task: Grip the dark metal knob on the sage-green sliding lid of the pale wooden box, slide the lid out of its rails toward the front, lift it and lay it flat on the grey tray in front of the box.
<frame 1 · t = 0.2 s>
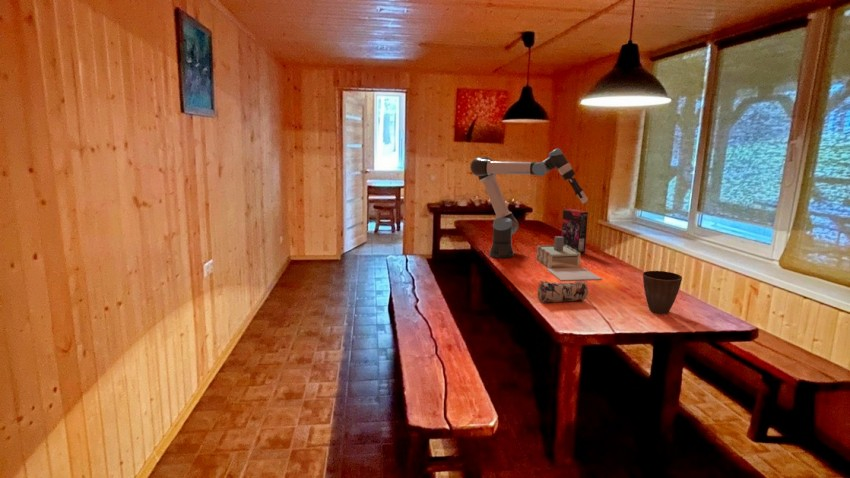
hand: (585, 201, 289), 35 cm above the table, tool tilted 35°, fingers open, 13 cm apart
plant pot: (658, 311, 205), on the table
graphics card box: (572, 251, 316), on the table
wooden box: (557, 263, 284), on the table
sliding lid: (558, 252, 282), point 7 cm above the table, touching wooden box
grey tray: (573, 274, 261), on the table
pencil case: (562, 301, 218), on the table
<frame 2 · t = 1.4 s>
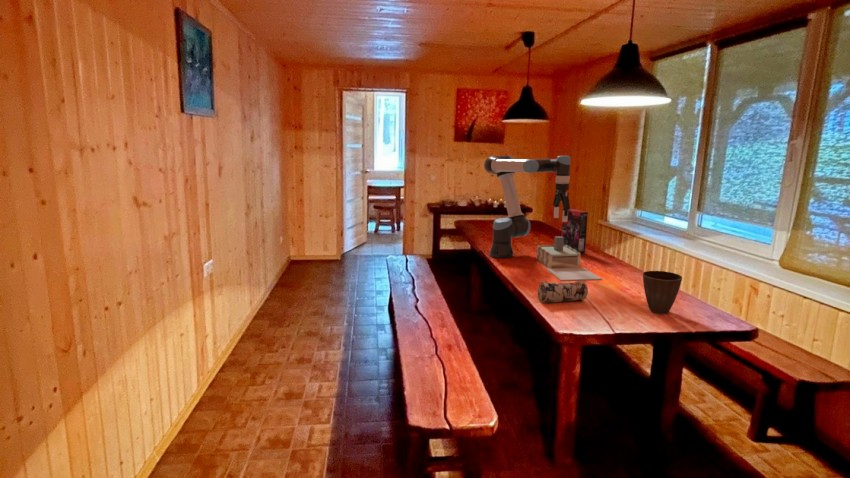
hand: (560, 219, 278), 26 cm above the table, tool pointing down, fingers open, 13 cm apart
nothing on the table moved.
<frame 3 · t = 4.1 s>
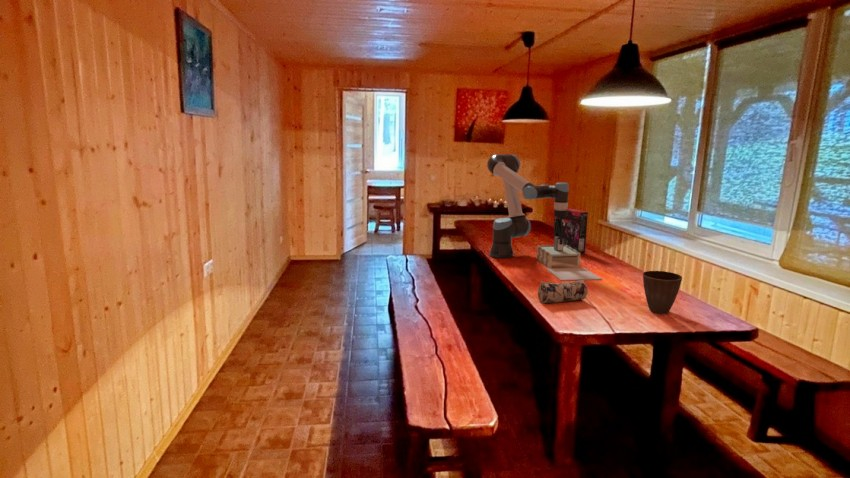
hand: (558, 248, 282), 9 cm above the table, tool pointing down, fingers closed on sliding lid, 4 cm apart
sliding lid: (558, 252, 282), point 7 cm above the table, touching gripper, wooden box
everything else where it was.
when the fingers open (4 cm above the table, at t = 14.4 s): sliding lid drops 1 cm, resting on grey tray.
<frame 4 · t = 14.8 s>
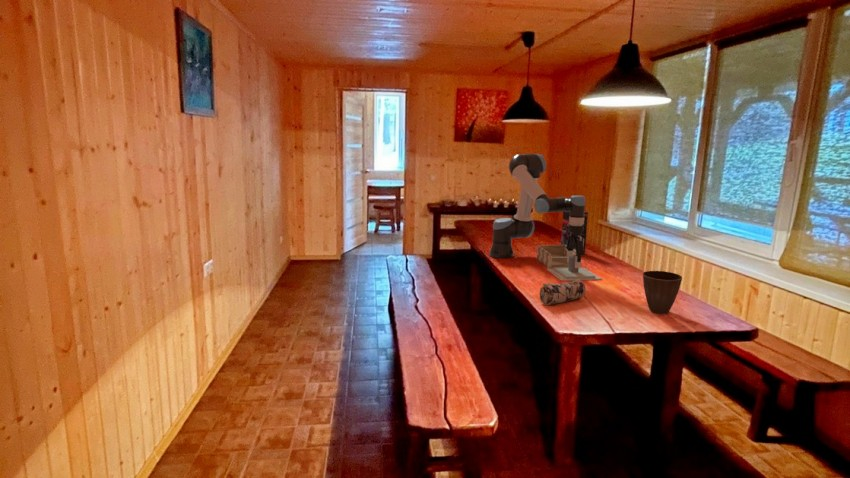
hand: (573, 264, 260), 5 cm above the table, tool pointing down, fingers open, 10 cm apart
sliding lid: (573, 273, 261), point 1 cm above the table, touching grey tray
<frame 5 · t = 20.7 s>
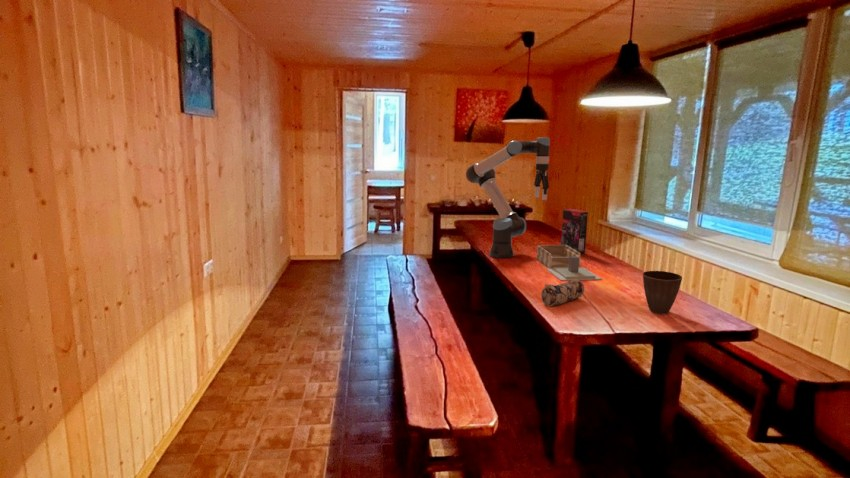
hand: (540, 198, 293), 37 cm above the table, tool pointing down, fingers open, 13 cm apart
at the end: sliding lid inside the target area on the grey tray (0.1 cm from its centre), point 0.6 cm above the grey tray's base; sliding lid tilted 0°; the gripper is holding nothing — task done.
